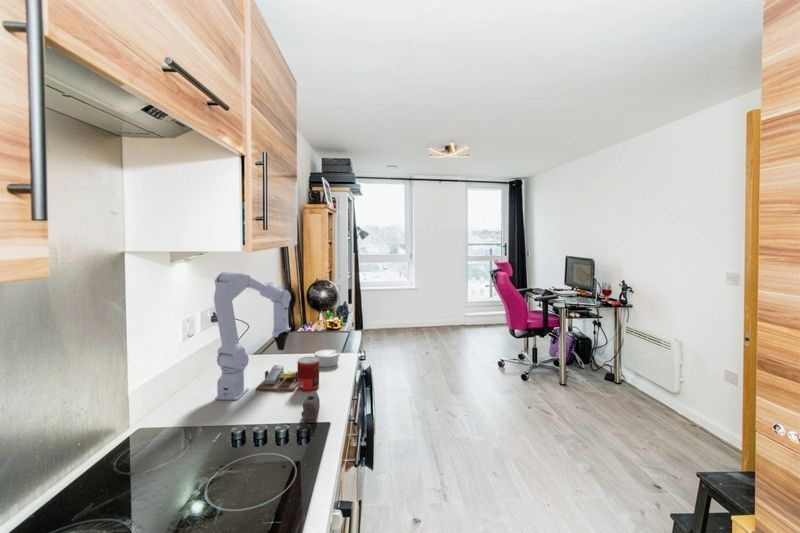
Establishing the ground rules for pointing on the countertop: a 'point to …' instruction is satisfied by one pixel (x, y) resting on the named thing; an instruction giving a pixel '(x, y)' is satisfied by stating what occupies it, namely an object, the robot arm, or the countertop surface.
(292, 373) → the yellow rectangular block
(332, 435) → the countertop surface
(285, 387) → the walnut board
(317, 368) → the canned food
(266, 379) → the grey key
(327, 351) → the ramekin
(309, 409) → the perforated stone tool
